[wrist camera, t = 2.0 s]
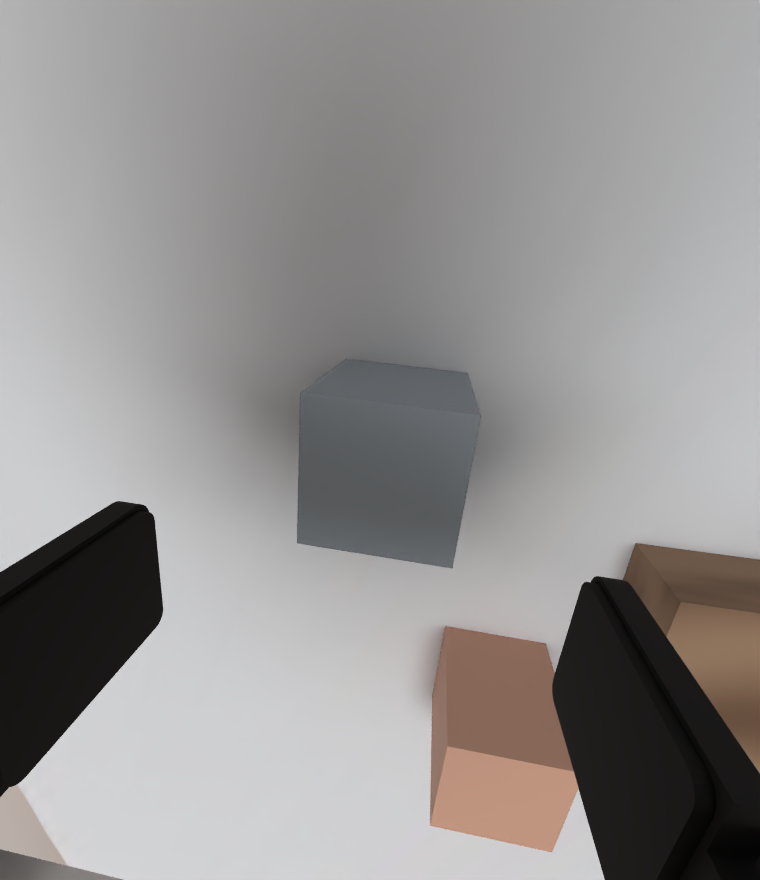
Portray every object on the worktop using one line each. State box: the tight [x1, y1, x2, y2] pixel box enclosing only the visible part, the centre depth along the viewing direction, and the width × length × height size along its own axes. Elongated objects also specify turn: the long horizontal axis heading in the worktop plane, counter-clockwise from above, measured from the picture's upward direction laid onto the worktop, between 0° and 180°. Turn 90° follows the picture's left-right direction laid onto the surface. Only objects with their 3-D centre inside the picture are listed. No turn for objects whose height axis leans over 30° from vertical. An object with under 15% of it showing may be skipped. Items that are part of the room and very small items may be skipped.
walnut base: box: [623, 543, 760, 773], centre depth 18 cm, size 10×10×4 cm
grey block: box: [297, 359, 481, 568], centre depth 15 cm, size 5×5×6 cm
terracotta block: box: [430, 626, 578, 852], centre depth 19 cm, size 5×5×6 cm
